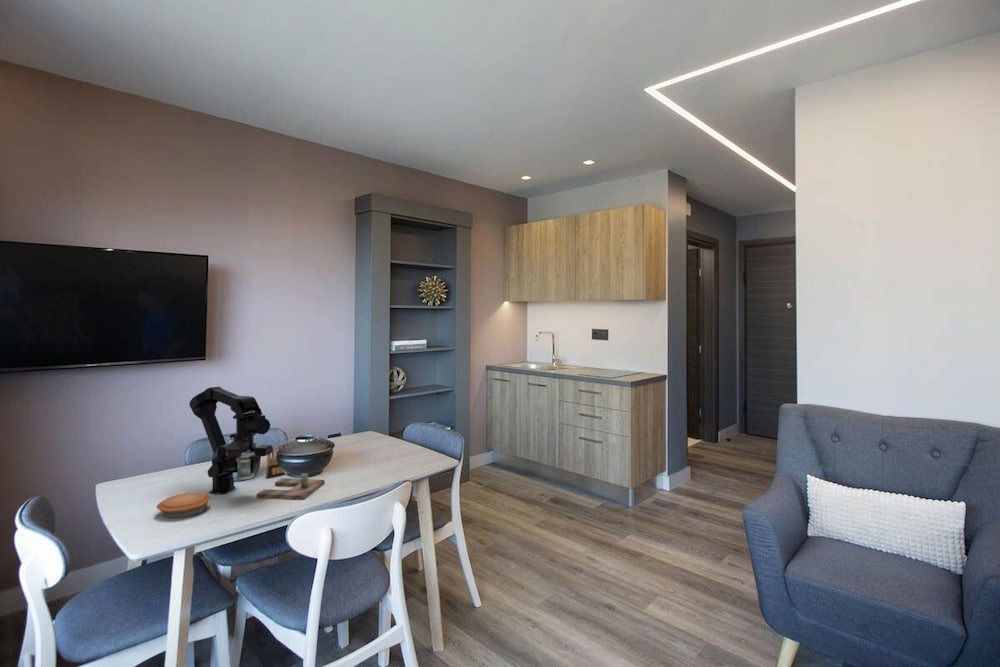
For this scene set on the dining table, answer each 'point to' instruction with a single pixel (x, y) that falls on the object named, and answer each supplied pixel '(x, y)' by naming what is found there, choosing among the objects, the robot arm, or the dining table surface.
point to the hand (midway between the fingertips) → (245, 472)
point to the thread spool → (244, 468)
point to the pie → (183, 505)
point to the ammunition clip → (273, 466)
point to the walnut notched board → (299, 490)
